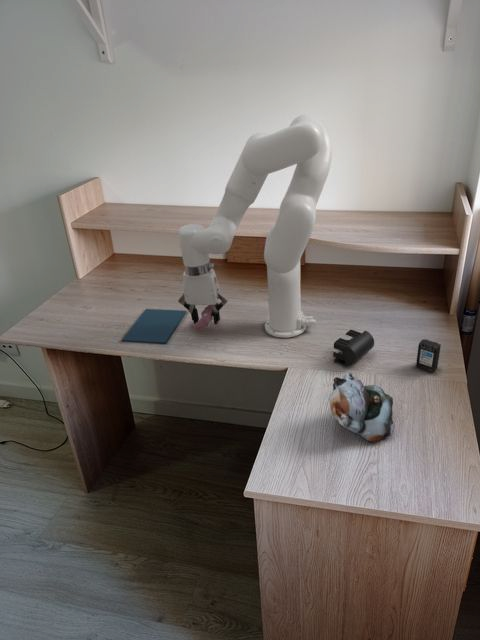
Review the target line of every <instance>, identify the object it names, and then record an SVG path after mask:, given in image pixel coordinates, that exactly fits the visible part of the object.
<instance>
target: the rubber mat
mask: <svg viewBox="0 0 480 640" xmlns="http://www.w3.org/2000/svg"><path fill="white" fill-rule="evenodd" d="M186 313H187V310H180V309H179V310H175V309H153V308H151V309H150V308H145V310H144V311H143V312H142V314H141V315H140V316H139V317H138V318H137V320H136V321H135V322H134V324H133V325H132V326H131V327H130V328H129V330H128V331H127V332H126V333H125V335H124V336H123V337H122V339H121V342H123V343H124V342H125V343H139V344H159V345H166V344H167V343H168V341H169V340H170V339H171V337H172V335H173V334H174V332H175V331H176V329H177V328H178V326H179V324H180V323H181V322H182V320H183V318H184V316H185V315H186Z"/></svg>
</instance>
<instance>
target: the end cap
mask: <svg viewBox="0 0 480 640" xmlns="http://www.w3.org/2000/svg"><path fill="white" fill-rule="evenodd" d="M345 336H348V337H351V338H350V339H344V338H341V337H339V338H338V339H337V340H335V341H334V342H333V349H334V350H337V351H338V352H337V351H334V352H333V353H332V354H333V355H332V356H333V358H334V359H333V362H334V363H335V364H339V365H341V366H344V367H351V366H353V365H355V364H356V363H357V362H358V361H359V360H361V359H362V358H363V357H364V356H365V355H366V354H367V353H369V352H370V351H371V350H372V349H373V348H374V346H375V339H374V337H373V334H371V333H370V332H369V331H367V330H364V331H362V332H360V331H357V330H354V329H349V330H348V331H347V332H345Z"/></svg>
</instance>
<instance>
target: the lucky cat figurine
mask: <svg viewBox="0 0 480 640" xmlns="http://www.w3.org/2000/svg"><path fill="white" fill-rule="evenodd" d="M332 388H333V389H332V392H331V393H330V396H329V397H328V399H329V407H330V408H329V409H330V412H331V414H332V416H333V418H334V419H336V421H338V423H339V425H341V426H342V427H344V428H345V429H346V430H348V431H350V432H352V433H354V434H357V435H359V436H361V437H362V438H364V439H365V440H367V441H369V442H372V443H376V442H379V441H381V440H384V439H386V438H388V437H392V436H393V435H394V431H395V422H394V421H393V406H394V399H393V397H392V396H391V395H390V394H388V393H385V391H384V389H383V388H382V387H380V386H378V385H375V384H368V385H367V384H366V385H364V382H362V380H361V379H360V378H357V377H354V376H353V374H352V373H351V372H345V373H344V376H343V377H342V378H341V377H337V376H336V377H334V378H333V383H332Z"/></svg>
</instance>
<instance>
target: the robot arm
mask: <svg viewBox="0 0 480 640" xmlns="http://www.w3.org/2000/svg"><path fill="white" fill-rule="evenodd" d="M332 155H333V154H332V144H331V140H330V137H329V134H328V132H327V129H325V127H324V125H323V124H322V123H321V122H320V120H318V118H317V117H315V116H313V115H311V114H301V115H298V116H296V117H295V118H294V119H293V120H292V121H291V122H290V124H289V126H288V127H286V128H283V129H280V130H278V131H276V132H273V133H270V134H268V133H265V132H256V133H254V134H252V135H251V136H250V137H249V138H248V139H247V141H246V142H245V145H244V146H243V148H242V150H241V153H240V155H239V157H238V160H237V161H236V163H235V166H234V167H233V170H232V173H231V174H230V176H229V178H228V181H227V183H226V185H225V188H224V193H223V195H222V198H221V201H220V203H219V205H218V207H217V209H216V212H215V214H214V215H213V218H212V220H211V222H210V224H209V226H208V227H207V228H205V227H204V226H203V225H202V224H199V223H188V224H185V225H183V226H181V227H180V228H179V229H178V232H177V233H178V240H179V241H178V242H179V246H180V253H181V257H182V263H183V268H184V269H183V270H184V272H183V274H182V275H183V276H182V285H183V287H182V288H183V294H182V295H181V296H180V297H179V298H178V303H179V304H180V305H182V306H183V307H184V308H185V309H186V310H187V311H188V312H189V313H190V317H191V321H193V325H194V324H195V323H197V322H198V321H199V320H200V317H199V312H198V308H196V306H208V305H210V306H211V307H212V309H213V311H214V312H213V317H212V318H213V320H212V321H213V324H214V325H215V326H217V325H218V323H219V322H220V321H221V314H220V311H221V309H222V308H223V307H224V306H225V305H226V304H227V303H228V301H229V299H228V297H226V295H224V294H223V293H221V289H220V285H219V280H218V277H217V274H216V272H215V269H216V264H215V263H212V262H211V260H210V254H211V255H223V254H225V253H227V252H228V251H229V250H230V249H231V248H232V247H231V246H232V244H233V242H234V241H233V240H234V237H235V235H236V232H237V230H238V228H239V226H240V224H241V222H242V220H243V218H244V216H245V214H246V212H247V211H248V209H249V208H250V206H251V205H253V204H254V202H255V201H256V199H257V197H258V195H259V194H260V192H261V189H262V188H263V186H264V183H265V181H266V180H267V178H268V176H269V174H273V173H276V172H278V171H281V170H284V169H287V168H289V167H292V166H295V165H296V166H295V169H294V170H293V171H294V172H293V174H292V177H291V180H290V183H289V185H288V187H287V189H286V192H285V194H284V196H283V198H282V200H281V202H280V205H279V211H278V215H277V218H276V221H275V224H274V226H273V228H271V229H270V231H269V232H268V234H267V235H266V239H265V241H264V242H265V243H264V250H263V259H264V262H265V265H266V274H267V275H266V276H267V293H268V294H267V296H268V316H269V317H268V319H267V320H266V321H265V323H264V330H265V332H266V333H267V334H268V335H270V336H272V337H276V338H284V339H285V338H286V339H287V338H293V337H297V336H300V335H302V334H303V333H304V332H305V331H306V329H307V326H309V327H316V322H317V321H316V320H317V319H313V315H308V316H307V315H305V314H304V311H303V310H302V306H301V305H302V304H301V303H302V301H301V300H302V298H301V294H302V293H301V292H302V291H301V258H302V257H303V254H304V252H305V250H306V247H307V245H308V243H309V240H310V239H311V235H312V233H313V232H314V228H315V225H316V221H317V205H318V203H319V200H320V197H321V194H322V192H323V189H324V187H325V184H326V181H327V179H328V176H329V173H330V169H331V167H332V157H333V156H332ZM218 300H220V302H218Z"/></svg>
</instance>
